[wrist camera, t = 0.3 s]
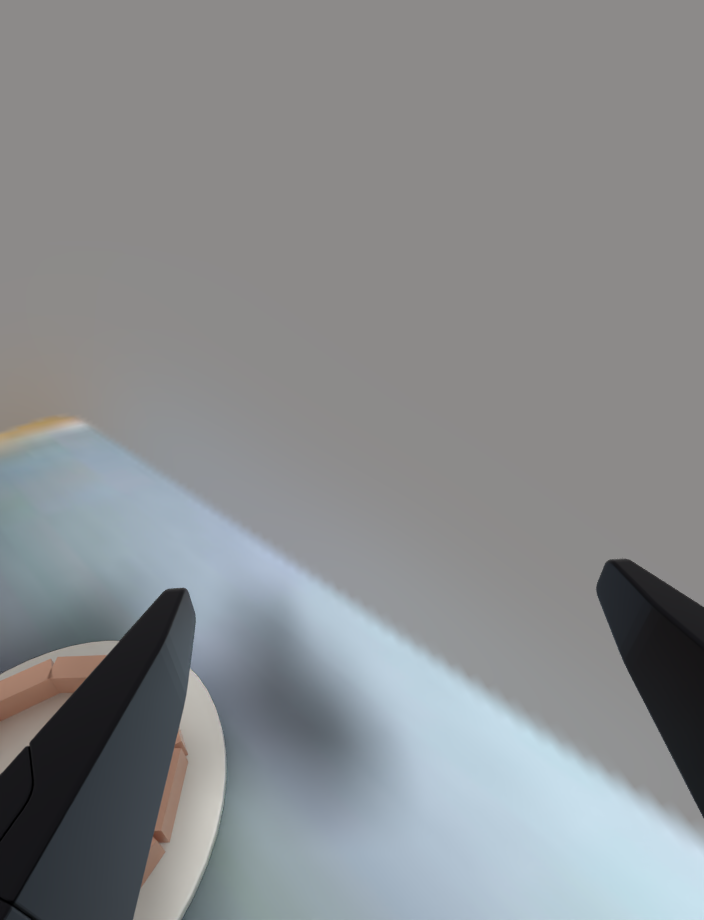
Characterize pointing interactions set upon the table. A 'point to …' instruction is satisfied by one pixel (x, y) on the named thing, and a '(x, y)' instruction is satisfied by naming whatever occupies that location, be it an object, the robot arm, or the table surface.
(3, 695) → the white orange plate
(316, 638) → the table surface
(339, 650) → the table surface
